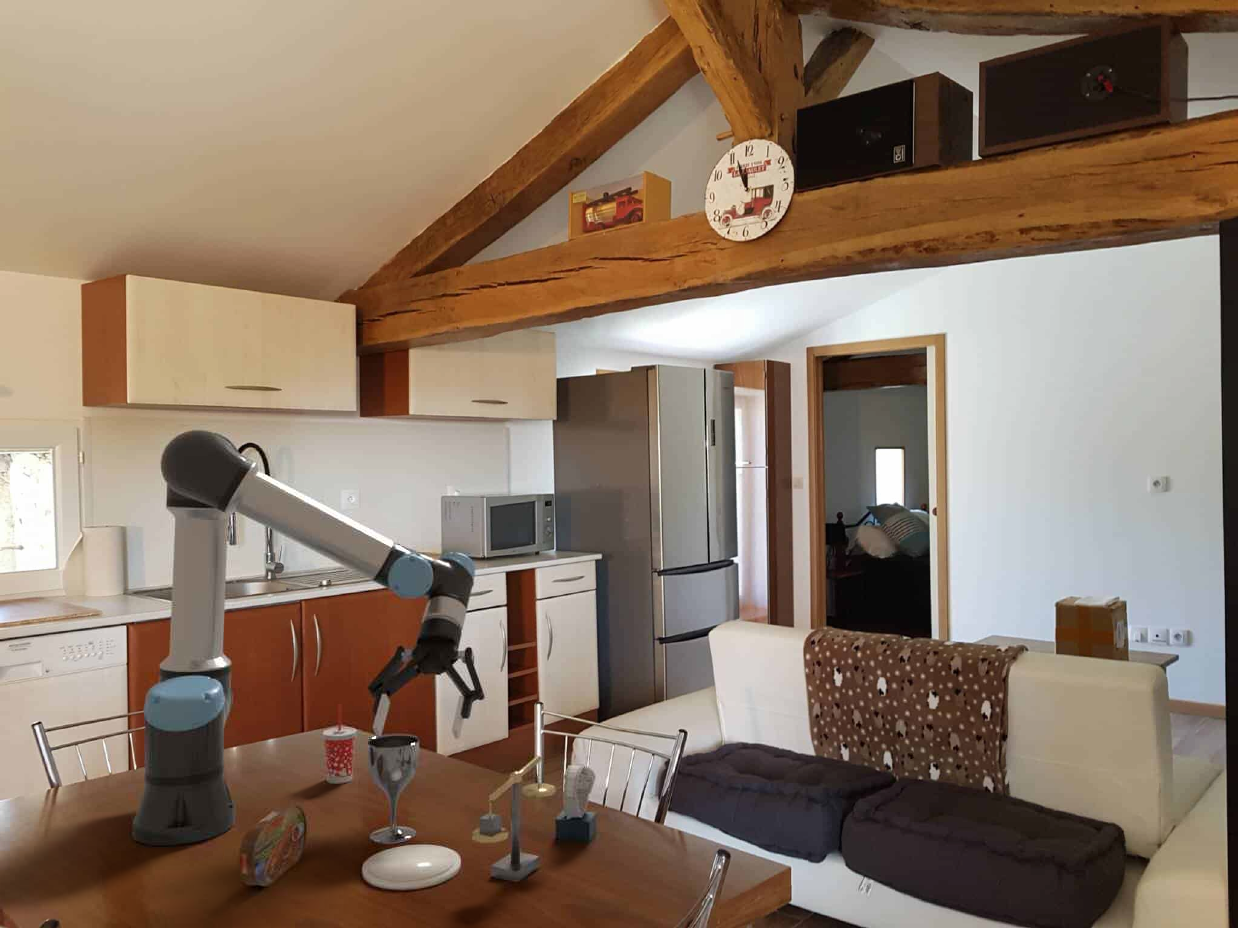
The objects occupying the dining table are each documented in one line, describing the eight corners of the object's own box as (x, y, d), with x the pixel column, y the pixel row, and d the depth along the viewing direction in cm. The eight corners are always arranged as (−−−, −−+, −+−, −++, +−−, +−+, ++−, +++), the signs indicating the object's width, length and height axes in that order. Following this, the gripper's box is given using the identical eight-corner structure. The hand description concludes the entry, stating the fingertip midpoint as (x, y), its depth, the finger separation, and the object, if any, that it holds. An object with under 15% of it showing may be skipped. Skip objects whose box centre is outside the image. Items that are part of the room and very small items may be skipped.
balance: (495, 899, 130) (495, 787, 130) (465, 892, 133) (464, 782, 133) (561, 852, 146) (561, 752, 146) (533, 846, 149) (533, 748, 149)
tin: (255, 896, 131) (255, 834, 132) (234, 895, 132) (234, 833, 132) (308, 853, 146) (308, 797, 146) (289, 851, 147) (289, 796, 147)
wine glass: (406, 846, 149) (406, 748, 149) (358, 842, 150) (358, 746, 150) (426, 827, 157) (426, 734, 157) (381, 823, 158) (381, 732, 158)
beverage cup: (351, 784, 178) (351, 708, 178) (318, 784, 178) (318, 708, 178) (360, 774, 184) (360, 700, 184) (328, 774, 184) (328, 700, 184)
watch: (599, 827, 157) (599, 759, 157) (586, 846, 149) (586, 774, 149) (566, 824, 158) (565, 757, 158) (551, 843, 150) (551, 772, 150)
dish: (341, 877, 137) (341, 869, 137) (405, 843, 150) (405, 836, 150) (419, 897, 131) (419, 889, 131) (479, 859, 144) (479, 852, 144)
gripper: (512, 640, 177) (493, 746, 163) (381, 638, 180) (350, 742, 165) (505, 616, 172) (485, 723, 157) (370, 614, 175) (337, 719, 160)
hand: (416, 733), depth 161 cm, fingers open, 13 cm apart
